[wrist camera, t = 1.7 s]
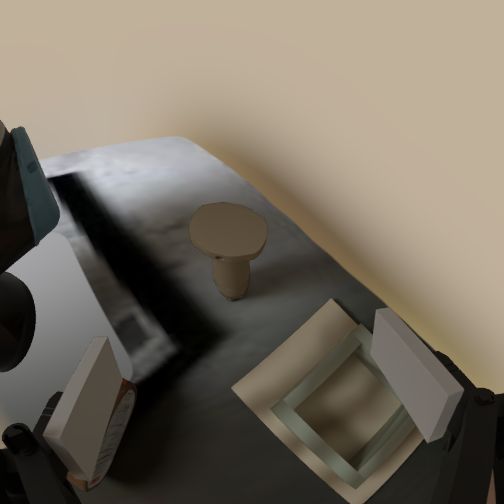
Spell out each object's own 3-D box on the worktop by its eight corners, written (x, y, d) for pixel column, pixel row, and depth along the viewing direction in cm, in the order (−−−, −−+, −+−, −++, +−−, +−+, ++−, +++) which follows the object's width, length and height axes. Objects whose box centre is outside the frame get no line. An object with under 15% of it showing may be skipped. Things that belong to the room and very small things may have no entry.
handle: (253, 314, 38) (259, 263, 25) (202, 301, 39) (180, 244, 25) (263, 278, 40) (272, 212, 27) (213, 266, 41) (200, 196, 27)
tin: (126, 375, 34) (97, 367, 27) (148, 386, 34) (124, 382, 26) (86, 473, 28) (52, 485, 21) (108, 486, 28) (77, 502, 20)
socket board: (231, 388, 34) (229, 386, 29) (329, 300, 39) (341, 285, 34) (354, 506, 27) (370, 520, 22) (438, 413, 32) (462, 412, 27)
